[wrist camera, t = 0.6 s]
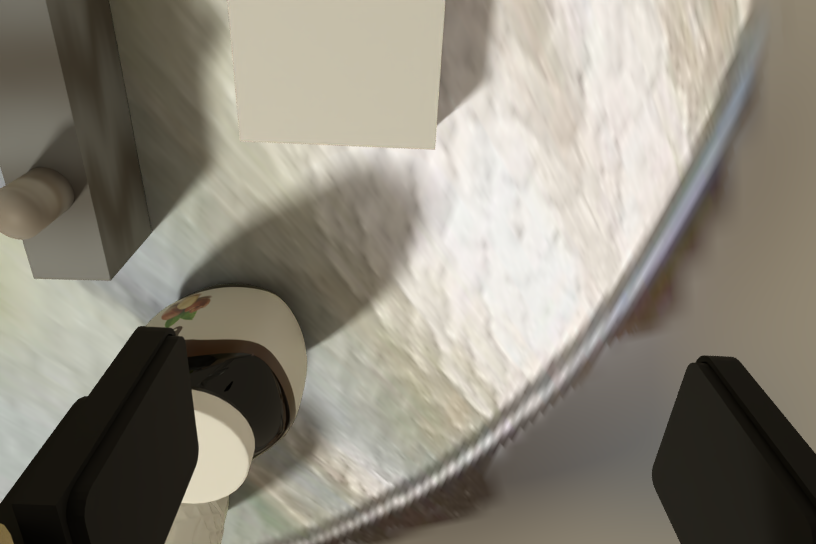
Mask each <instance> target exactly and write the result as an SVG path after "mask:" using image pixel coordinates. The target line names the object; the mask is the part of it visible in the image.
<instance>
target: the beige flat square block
mask: <svg viewBox="0 0 816 544" xmlns="http://www.w3.org/2000/svg"><path fill="white" fill-rule="evenodd" d="M227 3H228V14H229V25H230V36H231V47H232V58H233V69H234V81H235V92H236V103H237V114H238V125H239V136H240V141H247V142H270V143H293V144H316V145H339V146H362V147H385V148H408V149H431V150H435V142H436V128H437V113H438V99H439V85H440V70H441V56H442V42H443V27H444V13H445V0H227Z"/></svg>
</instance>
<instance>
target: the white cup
mask: <svg viewBox="0 0 816 544" xmlns="http://www.w3.org/2000/svg"><path fill="white" fill-rule="evenodd" d="M228 507H229V495H228V496H226V497H223V498H221V499H218V500H215V501H211V502H206V503H195V504H192V503H181V505H180V507H179V510H178V512H177V514H176V517H175V519H174V522H173V524H172V527H171V529H170V532H169V534H168V537H167V539H166V541H165V544H221V540H222V536H223V531H224V523H225V519H226V515H227V511H228Z"/></svg>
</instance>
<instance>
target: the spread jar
mask: <svg viewBox="0 0 816 544" xmlns="http://www.w3.org/2000/svg"><path fill="white" fill-rule="evenodd" d="M146 326H147V327H166V328H172V329H174V331H175V334H176V336H182V337H184V339H185V343H186V350H187V358H188V365H189V373H190V381H191V389H192V397H193V405H194V413H195V421H196V428H197V436H198V444H199V455H198V461H197V465H196V468H195V470H194V473H193V475H192V478H191V480H190V483H189V485H188V487H187V490H186V492H185V495H184V497H183V500H182V502H181V503H192V504H195V503H206V502H211V501H215V500H218V499H221V498H223V497H226V496H228V495H229V494H231V493H232V492H234V491H236V490H237V489H238V488H239V487H240V486H241V485H242V484H243V482H244V480H245V479H246V477H247V475H248V472H249V468H250V465H251V461H252V460H253V459H254V458H256V457H258V456H260V455H261V454H263V453H264V452H266V451H267V450H269V449H270V448H272V447H273V446H274V445H275V444H276V443H277V442H278V441H280V440H281V439H282V438H283V437H284V436H285V435H286V433H287V432H288V430H289V429H290V427H291V426H292V424H293V423H294V420H295V418H296V415H297V413H298V410H299V406H300V403H301V399H302V395H303V390H304V386H305V380H306V374H307V355H306V348H305V342H304V338H303V335H302V331H301V329H300V326H299V324H298V322H297V320H296V318H295V316H294V315H293V313H292V311H291V310H290V309H289V307H288V306H287V305H286V303H285V302H284V301H283V300H282V299H281V298H280V297H279V296H277V295H276V294H274V293H273V292H271V291H269V290H266V289H263V288H260V287H257V286H252V285H246V284H221V285H215V286H211V287H207V288H204V289H202V290H199V291H196V292H194V293H192V294H189V295H187V296H185V297H183V298H181V299H179V300H178V301H176V302H174V303H173V304H171V305H169V306H167V307H166V308H165V309H163V310H162V311H160V312H159V313H158V314H157V315H156V316H155V317H154V318H153V319H152V320H150V321H149V323H148V324H147V325H146Z"/></svg>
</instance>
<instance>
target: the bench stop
mask: <svg viewBox="0 0 816 544" xmlns="http://www.w3.org/2000/svg"><path fill="white" fill-rule="evenodd" d="M0 167H1V171H2V174H3V177H4V180H5V184H6V186H4V187H2V188H1V189H0V232H1V233H3V234H4V235H6V236H8V237H11V238H14V239H21V240H23V244H24V247H25V250H26V254H27V257H28V260H29V264H30V267H31V270H32V274H33V277H34V279H66V280H104V281H111V280H112V278H113V277H114V276H115V275H116V274H117V273H118V271H119V270H120V269H121V268H122V267H123V266H124V264H125V263H126V262H127V261H128V260H129V259H130V257H131V256H132V255H133V254H134V253H135V252H136V250H137V249H138V248H139V247H140V246H141V245H142V243H143V242H144V241H145V240H146V239H147V238H148V236H149V235H150V234H151V233H152V231H151V226H150V220H149V215H148V210H147V204H146V199H145V194H144V188H143V183H142V177H141V172H140V167H139V161H138V156H137V150H136V145H135V140H134V134H133V129H132V124H131V118H130V113H129V107H128V102H127V97H126V91H125V86H124V81H123V75H122V70H121V64H120V59H119V54H118V48H117V43H116V37H115V32H114V27H113V21H112V16H111V11H110V5H109V0H0Z"/></svg>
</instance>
